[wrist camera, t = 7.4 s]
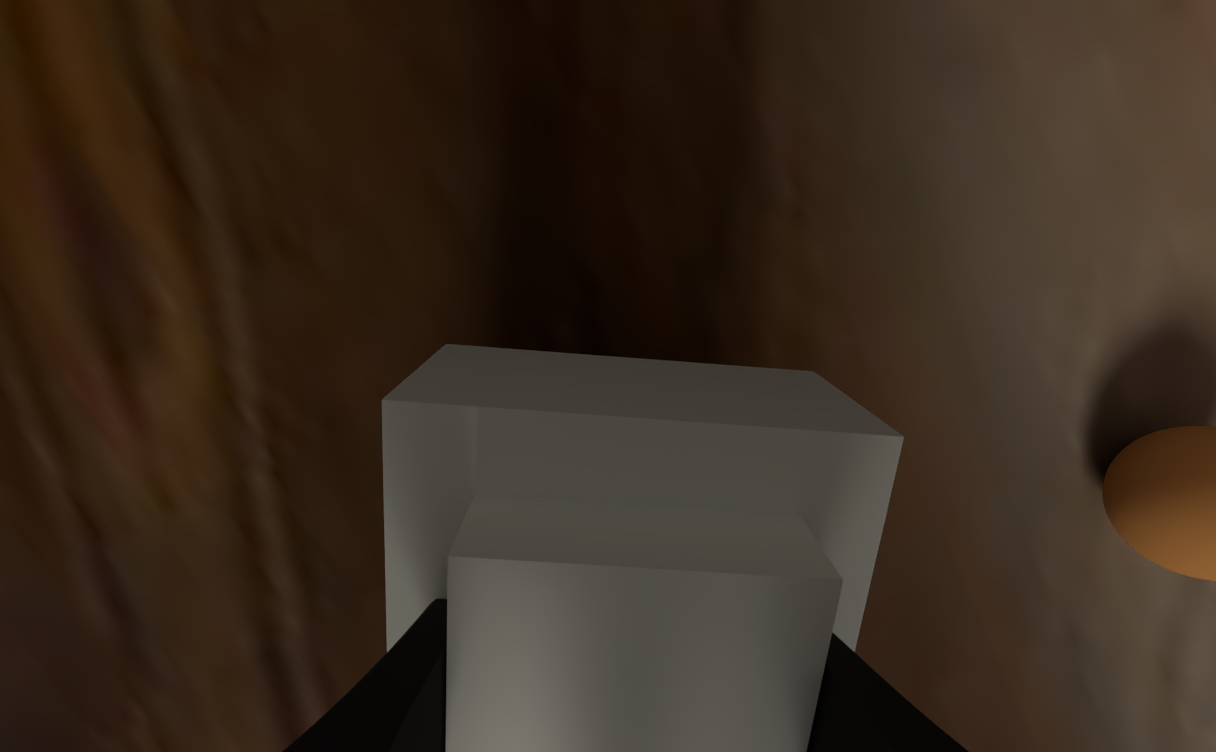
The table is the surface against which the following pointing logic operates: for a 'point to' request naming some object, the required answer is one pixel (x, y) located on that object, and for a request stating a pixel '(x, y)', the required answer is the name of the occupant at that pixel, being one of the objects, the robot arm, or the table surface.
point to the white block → (630, 545)
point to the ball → (1167, 498)
